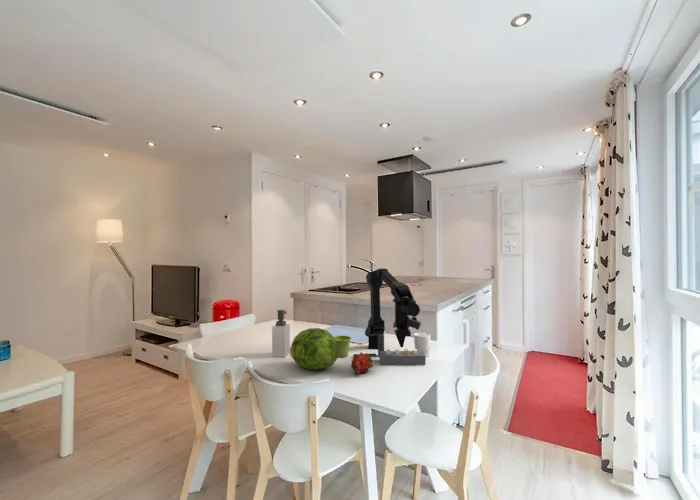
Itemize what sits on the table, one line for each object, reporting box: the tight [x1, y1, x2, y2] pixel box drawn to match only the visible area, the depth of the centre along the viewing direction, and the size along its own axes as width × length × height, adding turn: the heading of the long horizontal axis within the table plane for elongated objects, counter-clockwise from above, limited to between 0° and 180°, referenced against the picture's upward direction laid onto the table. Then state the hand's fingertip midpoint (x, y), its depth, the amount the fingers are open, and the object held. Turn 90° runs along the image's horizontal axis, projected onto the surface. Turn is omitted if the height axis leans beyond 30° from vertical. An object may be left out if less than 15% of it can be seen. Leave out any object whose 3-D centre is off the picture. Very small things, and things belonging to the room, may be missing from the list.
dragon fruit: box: [350, 352, 374, 375], centre depth 139 cm, size 8×8×12 cm
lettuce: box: [289, 327, 339, 371], centre depth 145 cm, size 18×23×19 cm
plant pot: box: [333, 334, 352, 358], centre depth 161 cm, size 9×9×9 cm
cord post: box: [377, 334, 385, 358], centre depth 160 cm, size 3×3×10 cm
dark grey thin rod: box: [352, 352, 377, 358], centre depth 159 cm, size 11×1×1 cm, turn 95°
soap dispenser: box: [271, 309, 291, 358], centre depth 165 cm, size 6×9×22 cm
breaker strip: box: [379, 348, 426, 366], centre depth 151 cm, size 20×7×6 cm, turn 87°
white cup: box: [413, 332, 432, 358], centre depth 160 cm, size 8×8×10 cm
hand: (401, 347), depth 151 cm, fingers closed
